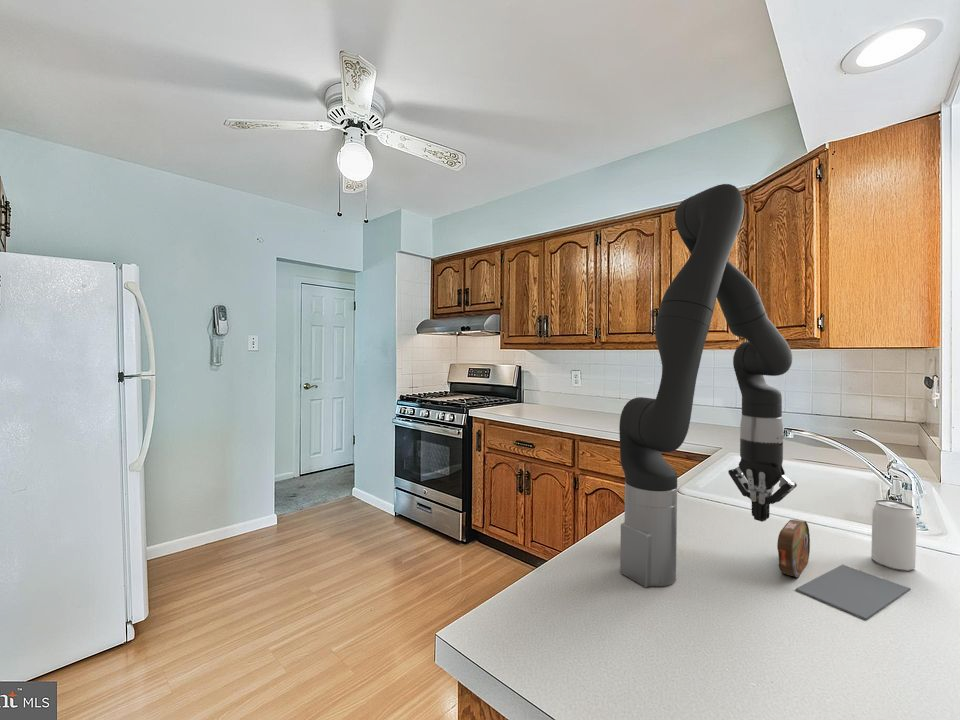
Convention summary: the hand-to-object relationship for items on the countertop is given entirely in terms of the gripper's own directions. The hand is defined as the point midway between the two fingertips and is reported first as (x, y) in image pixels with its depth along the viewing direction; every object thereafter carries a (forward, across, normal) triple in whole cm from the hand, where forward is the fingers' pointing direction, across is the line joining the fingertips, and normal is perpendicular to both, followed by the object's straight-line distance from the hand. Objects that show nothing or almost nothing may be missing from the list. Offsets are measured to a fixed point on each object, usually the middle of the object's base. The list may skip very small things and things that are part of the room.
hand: (760, 519), depth 93 cm
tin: (+7, +6, 0) cm, 10 cm away
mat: (+7, +16, 0) cm, 18 cm away
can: (+8, +16, +18) cm, 25 cm away
